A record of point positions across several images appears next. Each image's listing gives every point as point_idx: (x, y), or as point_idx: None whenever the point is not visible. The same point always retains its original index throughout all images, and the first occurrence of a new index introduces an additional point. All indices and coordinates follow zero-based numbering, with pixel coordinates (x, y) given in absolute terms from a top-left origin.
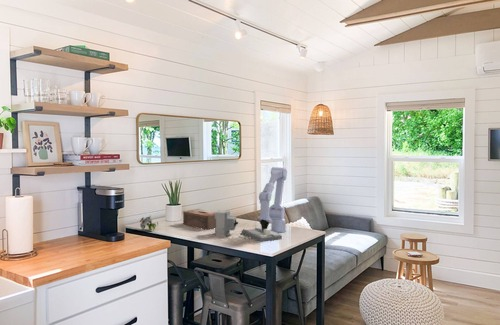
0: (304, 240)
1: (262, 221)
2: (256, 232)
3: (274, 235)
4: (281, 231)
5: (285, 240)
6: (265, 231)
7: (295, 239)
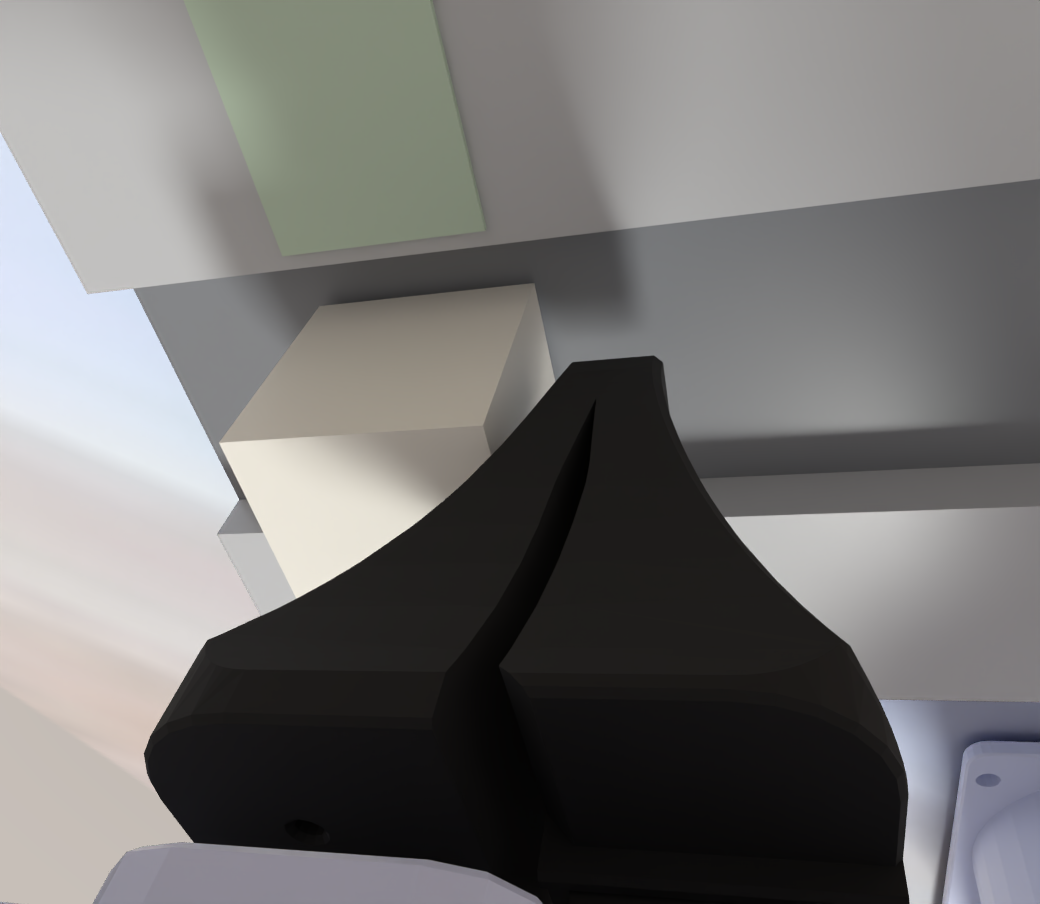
0: None
1: (245, 740)
2: (834, 51)
3: (231, 523)
4: (970, 884)
5: (203, 611)
6: (332, 389)
7: None
